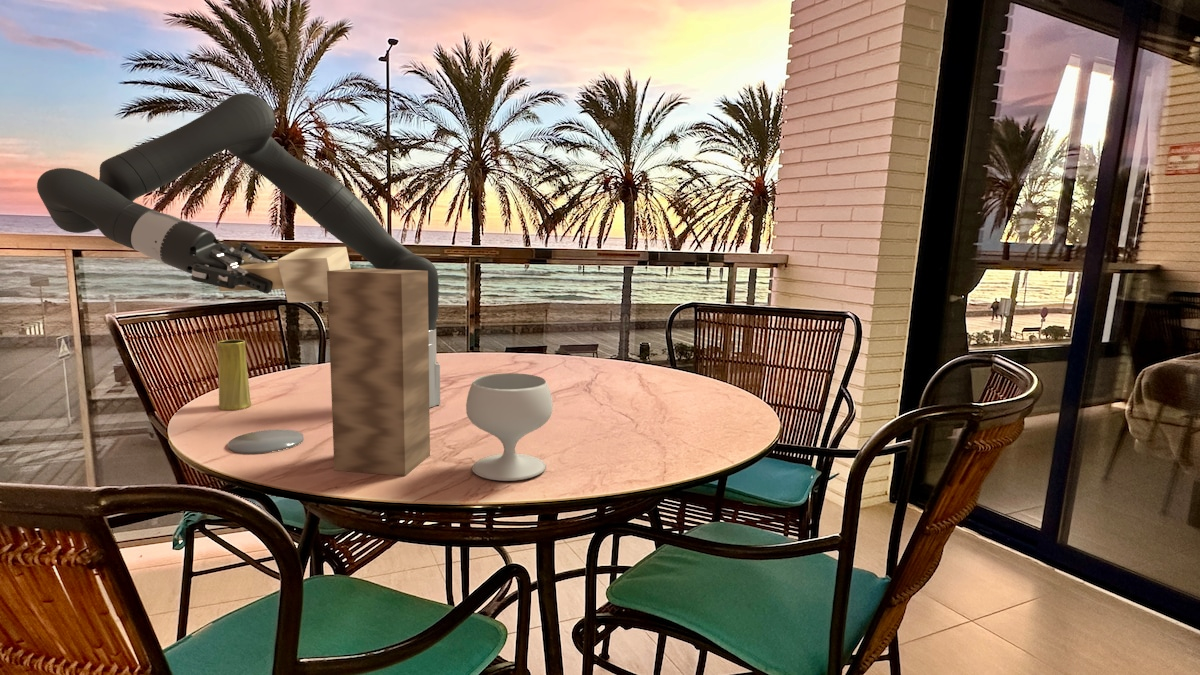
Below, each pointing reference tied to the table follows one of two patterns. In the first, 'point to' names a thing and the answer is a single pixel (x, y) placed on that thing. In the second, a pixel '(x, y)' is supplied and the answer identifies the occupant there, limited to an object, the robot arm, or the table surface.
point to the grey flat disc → (265, 441)
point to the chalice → (509, 421)
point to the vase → (233, 375)
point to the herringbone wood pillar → (379, 369)
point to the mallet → (300, 273)
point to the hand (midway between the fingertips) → (277, 283)
